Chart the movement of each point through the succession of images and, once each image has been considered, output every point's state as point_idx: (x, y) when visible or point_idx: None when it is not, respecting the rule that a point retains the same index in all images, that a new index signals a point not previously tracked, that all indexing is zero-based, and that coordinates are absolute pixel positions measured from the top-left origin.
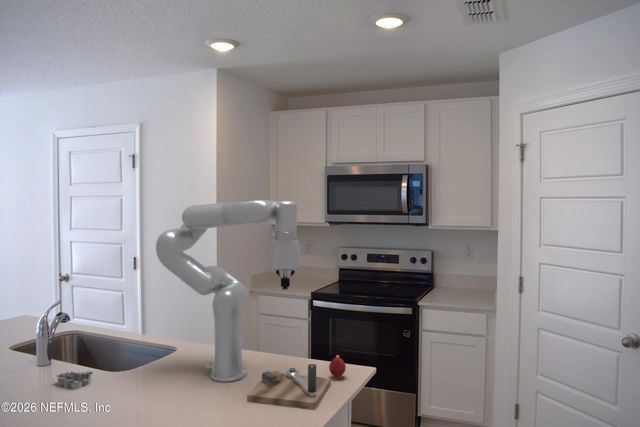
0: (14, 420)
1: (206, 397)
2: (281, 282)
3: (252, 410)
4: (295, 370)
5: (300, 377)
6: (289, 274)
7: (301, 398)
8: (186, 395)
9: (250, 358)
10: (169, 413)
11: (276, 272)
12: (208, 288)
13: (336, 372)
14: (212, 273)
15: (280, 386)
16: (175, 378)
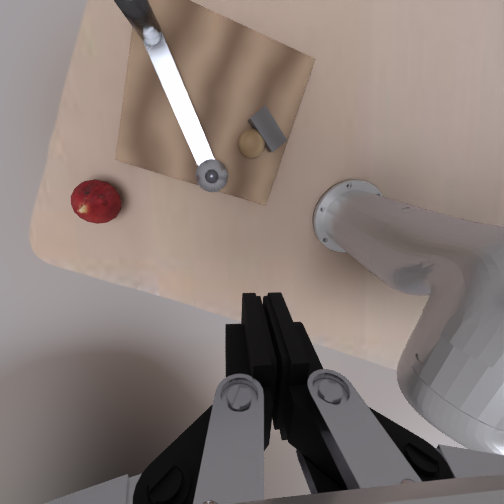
0: None
1: (393, 96)
2: (306, 345)
3: (297, 3)
4: (205, 184)
5: (189, 138)
6: (227, 425)
7: (179, 18)
8: (430, 111)
9: (304, 305)
10: (469, 8)
11: (428, 449)
12: None
13: (99, 180)
14: None
15: (237, 111)
16: (445, 204)
